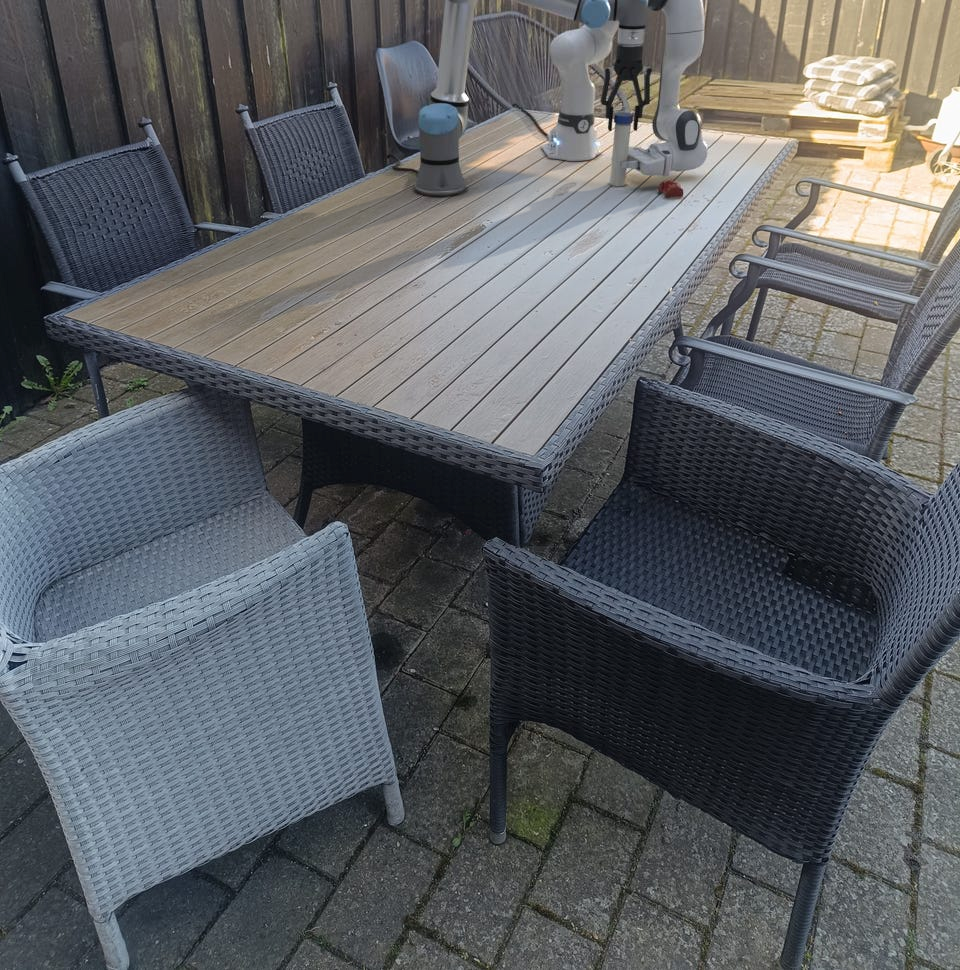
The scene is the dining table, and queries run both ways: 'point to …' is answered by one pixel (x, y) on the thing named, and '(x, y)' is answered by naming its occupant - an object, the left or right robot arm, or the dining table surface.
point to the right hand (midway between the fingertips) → (616, 162)
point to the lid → (623, 118)
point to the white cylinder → (620, 154)
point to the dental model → (670, 189)
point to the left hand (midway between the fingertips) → (622, 129)
